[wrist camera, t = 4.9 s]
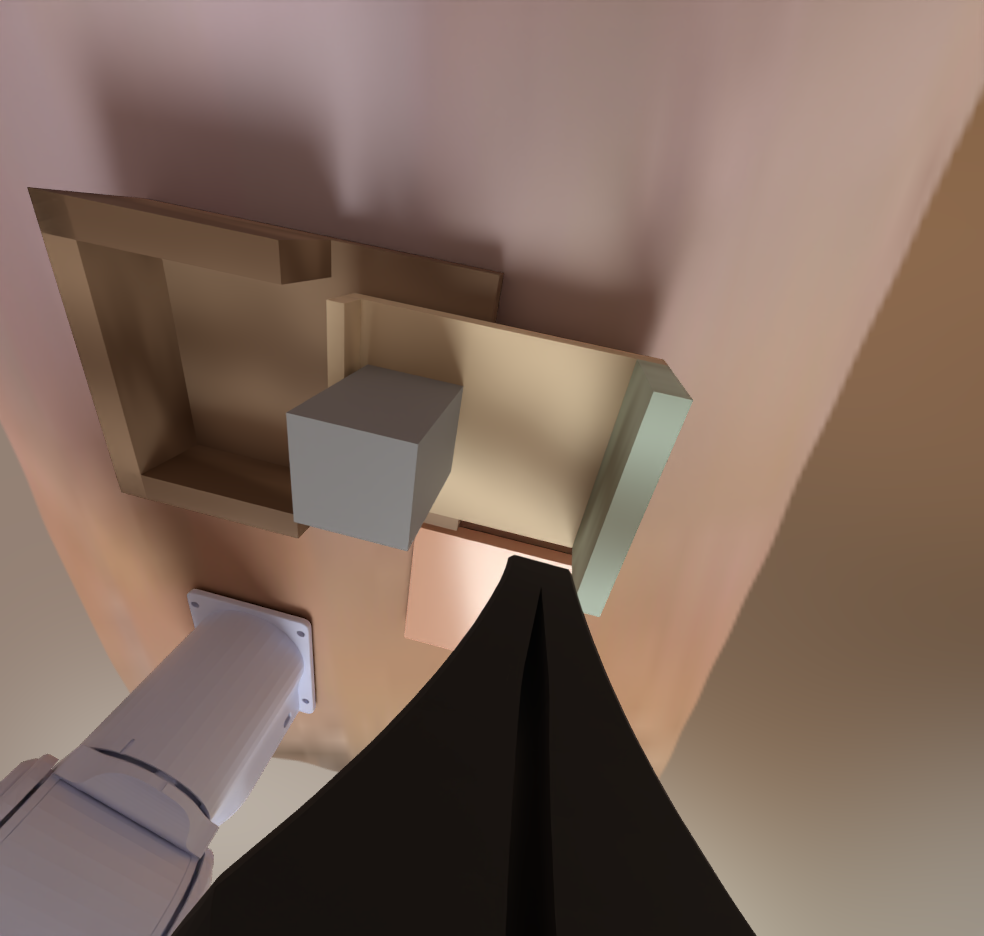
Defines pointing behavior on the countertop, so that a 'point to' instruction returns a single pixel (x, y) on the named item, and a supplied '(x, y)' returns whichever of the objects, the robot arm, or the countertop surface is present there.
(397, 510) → the grey block
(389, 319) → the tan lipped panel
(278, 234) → the brown tray
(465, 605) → the terracotta tile
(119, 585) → the countertop surface
